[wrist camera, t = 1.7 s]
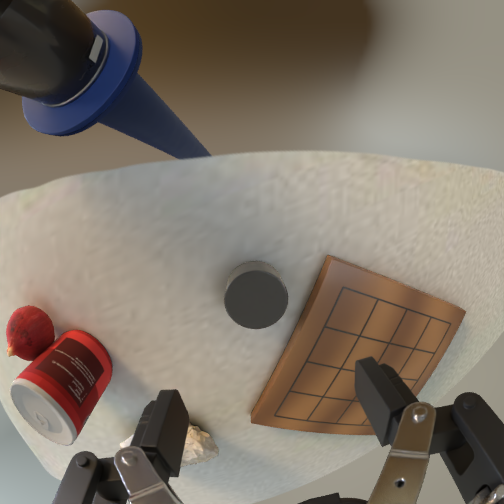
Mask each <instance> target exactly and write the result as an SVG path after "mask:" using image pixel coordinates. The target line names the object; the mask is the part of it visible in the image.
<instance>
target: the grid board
mask: <svg viewBox="0 0 504 504" xmlns="http://www.w3.org/2000/svg"><path fill="white" fill-rule="evenodd" d="M465 314H466V311H465V310H463V309H462V308H460V307H458V306H455V305H453V304H451V303H448V302H446V301H443V300H441V299H439V298H436V297H434V296H431V295H429V294H427V293H424V292H422V291H419V290H417V289H414V288H412V287H409V286H407V285H404V284H402V283H399V282H397V281H394V280H392V279H389V278H387V277H384V276H382V275H379V274H377V273H374V272H372V271H369V270H366V269H364V268H361V267H359V266H356V265H354V264H351V263H348V262H346V261H343V260H340V259H338V258H335V257H333V256H330V255H328V256H327V258H326V260H325V263H324V265H323V268H322V270H321V272H320V275H319V277H318V279H317V282H316V284H315V286H314V289H313V291H312V293H311V295H310V298H309V300H308V302H307V304H306V306H305V309H304V311H303V313H302V315H301V317H300V319H299V322H298V324H297V326H296V328H295V330H294V332H293V334H292V336H291V338H290V340H289V343H288V345H287V347H286V349H285V351H284V353H283V355H282V357H281V359H280V361H279V363H278V365H277V366H276V368H275V370H274V372H273V374H272V376H271V378H270V380H269V382H268V384H267V386H266V387H265V389H264V391H263V393H262V395H261V397H260V399H259V400H258V402H257V404H256V406H255V408H254V409H253V411H252V413H251V423H253V424H258V425H264V426H270V427H276V428H283V429H290V430H298V431H306V432H316V433H329V434H347V435H376V434H375V432H374V430H373V428H372V426H371V424H370V422H369V420H368V418H367V416H366V414H365V412H364V410H363V408H362V406H361V404H360V402H359V400H358V398H357V396H356V393H355V386H354V384H355V362H356V360H360V359H363V358H367V357H370V356H372V357H373V358H374V359H375V360H376V362H377V363H378V364H379V365H380V364H383V363H385V364H387V365H389V366H391V367H392V368H394V370H395V371H396V372H397V373H398V375H399V376H400V377H401V378H402V380H403V382H405V384H406V385H407V386H408V387H409V389H410V390H411V391H412V393H413V394H414V395H415V397H416V396H417V395H418V394H419V392H420V391H421V389H422V388H423V386H424V385H425V383H426V382H427V381H428V379H429V377H430V376H431V374H432V373H433V371H434V370H435V368H436V367H437V365H438V363H439V362H440V360H441V358H442V357H443V355H444V353H445V352H446V350H447V348H448V346H449V345H450V343H451V341H452V339H453V337H454V335H455V334H456V332H457V330H458V328H459V326H460V324H461V322H462V320H463V318H464V316H465Z"/></svg>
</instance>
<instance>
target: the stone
mask: <svg viewBox="0 0 504 504" xmlns="http://www.w3.org/2000/svg"><path fill="white" fill-rule="evenodd" d="M133 436H134V434H133V435H132V436H131V437H130V438H128V439H127V440H126V441H124V442H122V443H121V444H120V449H122V448H124V447H128V446H130V443H131V441H132V438H133ZM218 452H219V449H218V447H217V446H216V444H215V442H214V440H213V439H212V438H211V436H210V435H209V434H208V433H206V432H204V431H201V430H200V429H199V427H198V426H193V425H191V423H190V422H189V427H188V432H187V437H186V441H185V446H184V451H183V456H182V461H181V466H180V467H183V466H185V465H186V466H187V465H188V464H190V465H191V464H197V463H200V462H207V461H208V460H210V459H211V458H214V457H216V456H218Z"/></svg>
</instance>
